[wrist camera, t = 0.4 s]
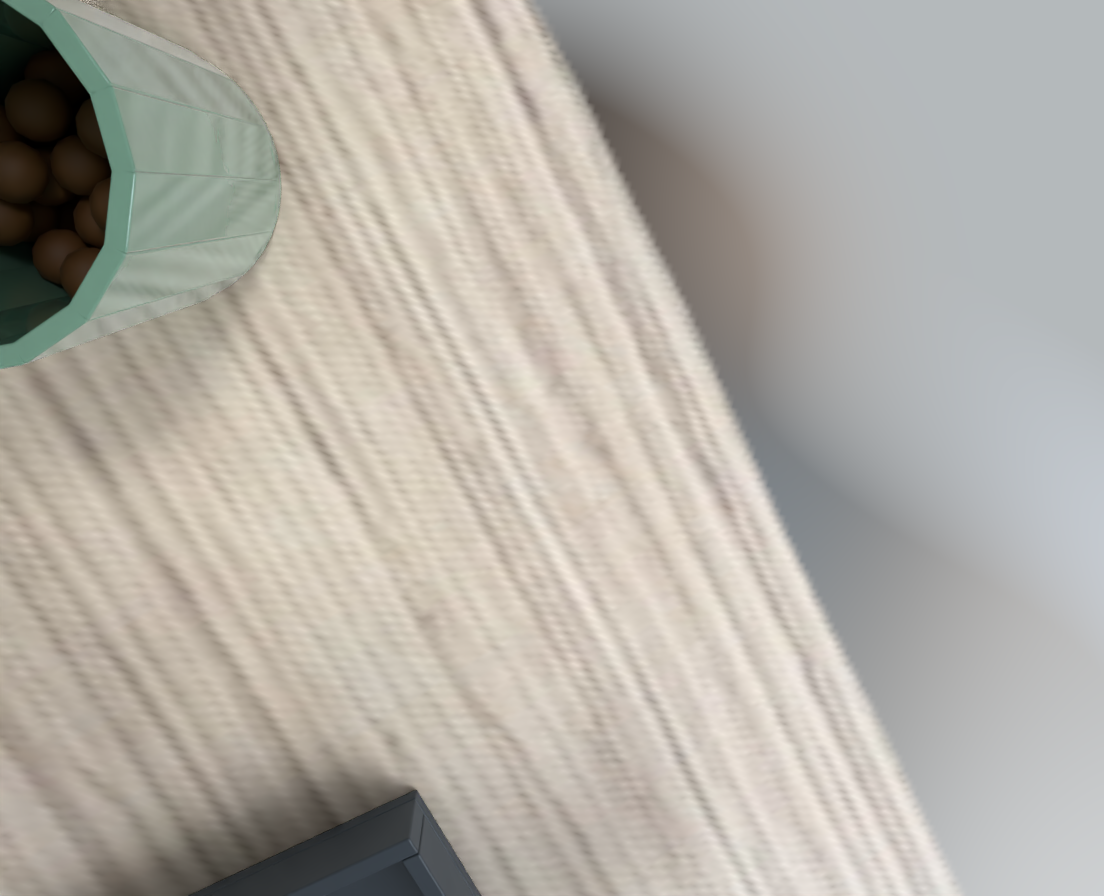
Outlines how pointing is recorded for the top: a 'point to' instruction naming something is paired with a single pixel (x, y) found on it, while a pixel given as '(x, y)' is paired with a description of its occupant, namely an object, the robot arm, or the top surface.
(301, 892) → the tray
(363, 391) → the top surface
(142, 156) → the tumbler
